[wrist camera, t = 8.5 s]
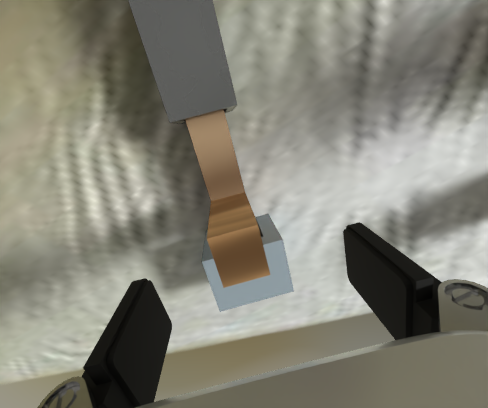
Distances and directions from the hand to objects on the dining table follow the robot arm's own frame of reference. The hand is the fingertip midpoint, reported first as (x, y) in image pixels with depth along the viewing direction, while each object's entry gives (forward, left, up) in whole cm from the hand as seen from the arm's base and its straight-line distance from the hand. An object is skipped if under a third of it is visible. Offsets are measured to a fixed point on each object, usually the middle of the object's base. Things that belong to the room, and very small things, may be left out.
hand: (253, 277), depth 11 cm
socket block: (+6, -1, -14) cm, 15 cm away
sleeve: (-14, -1, -14) cm, 19 cm away
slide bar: (-3, -1, -13) cm, 13 cm away
